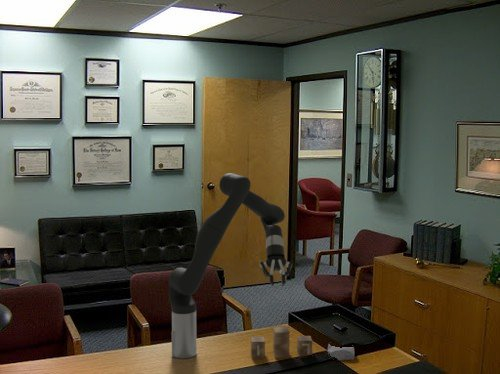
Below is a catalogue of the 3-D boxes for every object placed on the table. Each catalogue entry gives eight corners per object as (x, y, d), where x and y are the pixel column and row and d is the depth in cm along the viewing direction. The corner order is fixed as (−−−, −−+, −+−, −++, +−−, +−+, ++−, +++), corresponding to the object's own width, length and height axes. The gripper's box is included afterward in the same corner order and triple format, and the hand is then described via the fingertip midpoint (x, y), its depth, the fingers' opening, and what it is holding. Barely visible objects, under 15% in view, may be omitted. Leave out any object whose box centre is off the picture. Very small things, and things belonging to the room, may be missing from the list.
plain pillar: (274, 358, 217) (274, 332, 216) (273, 352, 223) (273, 327, 222) (289, 357, 218) (289, 332, 217) (287, 352, 223) (287, 327, 222)
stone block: (330, 365, 216) (357, 360, 215) (328, 352, 216) (354, 347, 215) (327, 353, 228) (352, 349, 227) (325, 342, 227) (350, 337, 227)
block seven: (299, 357, 218) (299, 341, 217) (297, 352, 223) (297, 336, 223) (312, 357, 218) (312, 340, 218) (309, 352, 223) (310, 335, 223)
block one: (251, 358, 217) (251, 342, 216) (250, 353, 222) (250, 337, 221) (264, 358, 217) (265, 341, 217) (263, 353, 222) (263, 336, 222)
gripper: (258, 243, 238) (260, 280, 227) (292, 243, 239) (296, 279, 228) (257, 253, 244) (259, 289, 233) (290, 253, 245) (294, 289, 234)
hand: (277, 284), depth 231 cm, fingers open, 3 cm apart
